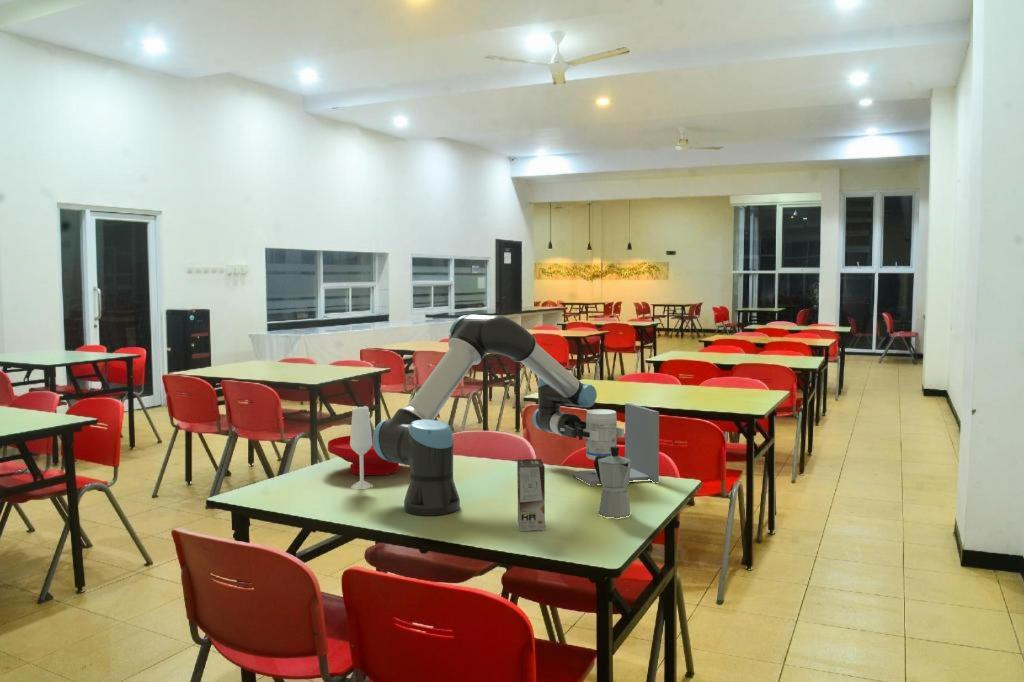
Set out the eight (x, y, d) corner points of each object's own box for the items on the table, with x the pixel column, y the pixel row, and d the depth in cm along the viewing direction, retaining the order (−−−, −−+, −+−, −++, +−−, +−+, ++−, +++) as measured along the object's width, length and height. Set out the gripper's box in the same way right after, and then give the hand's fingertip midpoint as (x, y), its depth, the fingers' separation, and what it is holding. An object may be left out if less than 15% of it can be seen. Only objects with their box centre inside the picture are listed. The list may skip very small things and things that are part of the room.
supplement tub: (586, 454, 248) (585, 408, 247) (616, 454, 247) (616, 409, 246) (586, 461, 238) (585, 413, 238) (617, 461, 238) (617, 413, 237)
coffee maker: (643, 518, 201) (643, 449, 200) (616, 523, 197) (616, 452, 196) (608, 504, 214) (608, 440, 213) (582, 509, 210) (582, 443, 208)
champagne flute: (377, 486, 236) (376, 408, 234) (357, 490, 231) (355, 410, 230) (366, 482, 241) (365, 405, 239) (346, 486, 237) (345, 407, 235)
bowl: (332, 484, 239) (332, 452, 238) (324, 464, 268) (323, 435, 267) (430, 476, 249) (429, 445, 248) (411, 458, 277) (411, 430, 277)
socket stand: (658, 482, 238) (659, 411, 237) (595, 488, 232) (595, 415, 230) (629, 469, 257) (629, 403, 256) (569, 474, 251) (569, 406, 249)
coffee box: (545, 531, 190) (545, 466, 189) (519, 531, 190) (519, 466, 189) (541, 520, 199) (541, 458, 199) (516, 521, 199) (516, 459, 198)
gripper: (592, 432, 264) (637, 442, 245) (539, 439, 252) (582, 451, 233) (592, 410, 263) (637, 419, 244) (538, 416, 251) (582, 426, 232)
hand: (610, 434), depth 239 cm, fingers closed on supplement tub, 9 cm apart
